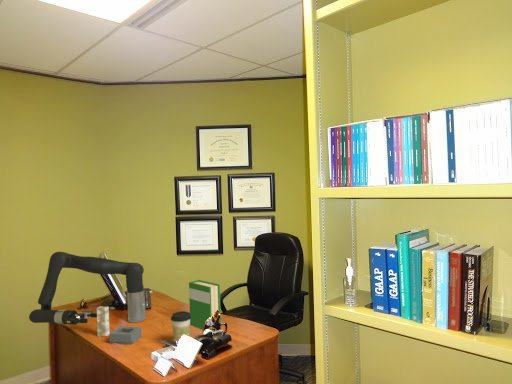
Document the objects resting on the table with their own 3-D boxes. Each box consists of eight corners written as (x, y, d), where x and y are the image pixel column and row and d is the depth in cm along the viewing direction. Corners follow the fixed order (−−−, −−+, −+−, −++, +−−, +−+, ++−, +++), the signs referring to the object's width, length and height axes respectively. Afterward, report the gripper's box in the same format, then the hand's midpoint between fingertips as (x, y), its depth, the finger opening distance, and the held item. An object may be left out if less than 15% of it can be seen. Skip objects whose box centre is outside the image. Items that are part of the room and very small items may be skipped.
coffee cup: (191, 348, 181) (190, 317, 181) (170, 349, 181) (169, 318, 180) (192, 339, 191) (191, 310, 191) (173, 341, 190) (172, 311, 190)
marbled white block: (97, 336, 200) (96, 308, 200) (101, 334, 203) (100, 306, 203) (106, 336, 199) (105, 308, 199) (109, 334, 202) (108, 306, 202)
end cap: (109, 343, 190) (109, 333, 190) (120, 335, 200) (120, 326, 200) (131, 344, 187) (131, 334, 187) (141, 336, 197) (141, 327, 197)
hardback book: (221, 328, 206) (219, 284, 206) (210, 332, 201) (209, 287, 201) (200, 321, 218) (199, 279, 218) (190, 324, 213) (188, 282, 212)
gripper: (56, 314, 198) (83, 315, 195) (74, 306, 212) (100, 306, 209) (56, 328, 198) (84, 330, 195) (74, 319, 212) (100, 320, 209)
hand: (92, 318), depth 202 cm, fingers open, 8 cm apart
